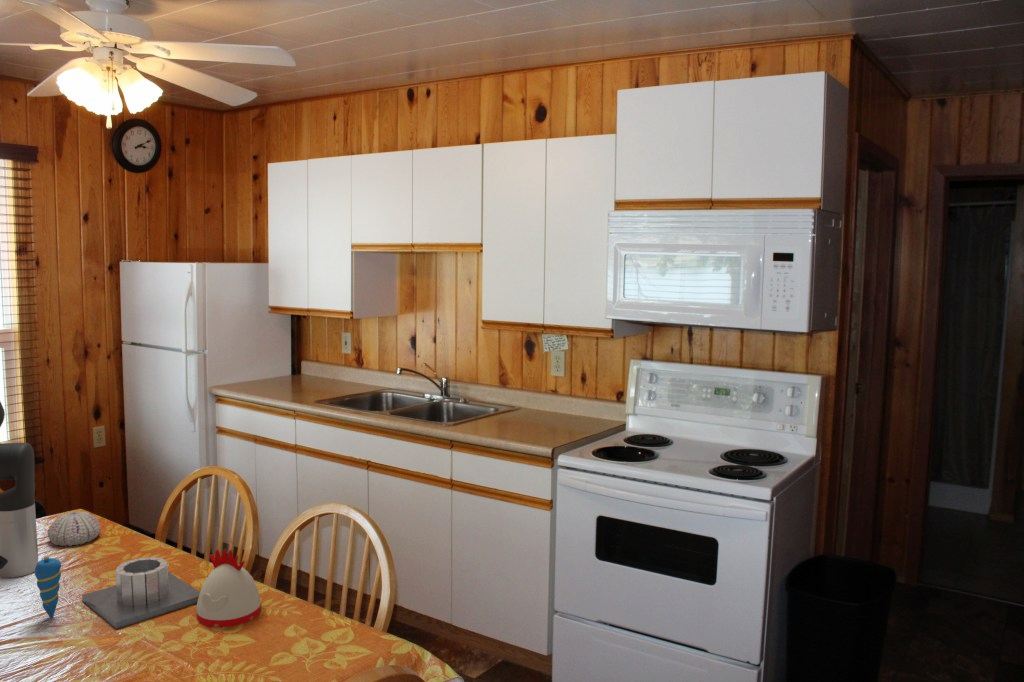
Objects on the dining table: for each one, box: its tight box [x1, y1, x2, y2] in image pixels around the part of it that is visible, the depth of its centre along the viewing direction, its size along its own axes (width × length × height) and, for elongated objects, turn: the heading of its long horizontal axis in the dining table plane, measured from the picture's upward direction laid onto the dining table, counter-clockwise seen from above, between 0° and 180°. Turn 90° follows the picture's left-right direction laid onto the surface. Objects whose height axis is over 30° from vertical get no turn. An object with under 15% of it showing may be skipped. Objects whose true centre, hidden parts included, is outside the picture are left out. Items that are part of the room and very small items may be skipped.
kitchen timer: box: [196, 548, 262, 628], centre depth 186 cm, size 14×14×15 cm
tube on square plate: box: [81, 556, 200, 630], centre depth 192 cm, size 20×20×8 cm
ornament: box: [34, 553, 62, 619], centre depth 183 cm, size 5×5×15 cm
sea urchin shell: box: [47, 511, 102, 547], centre depth 230 cm, size 13×14×8 cm
